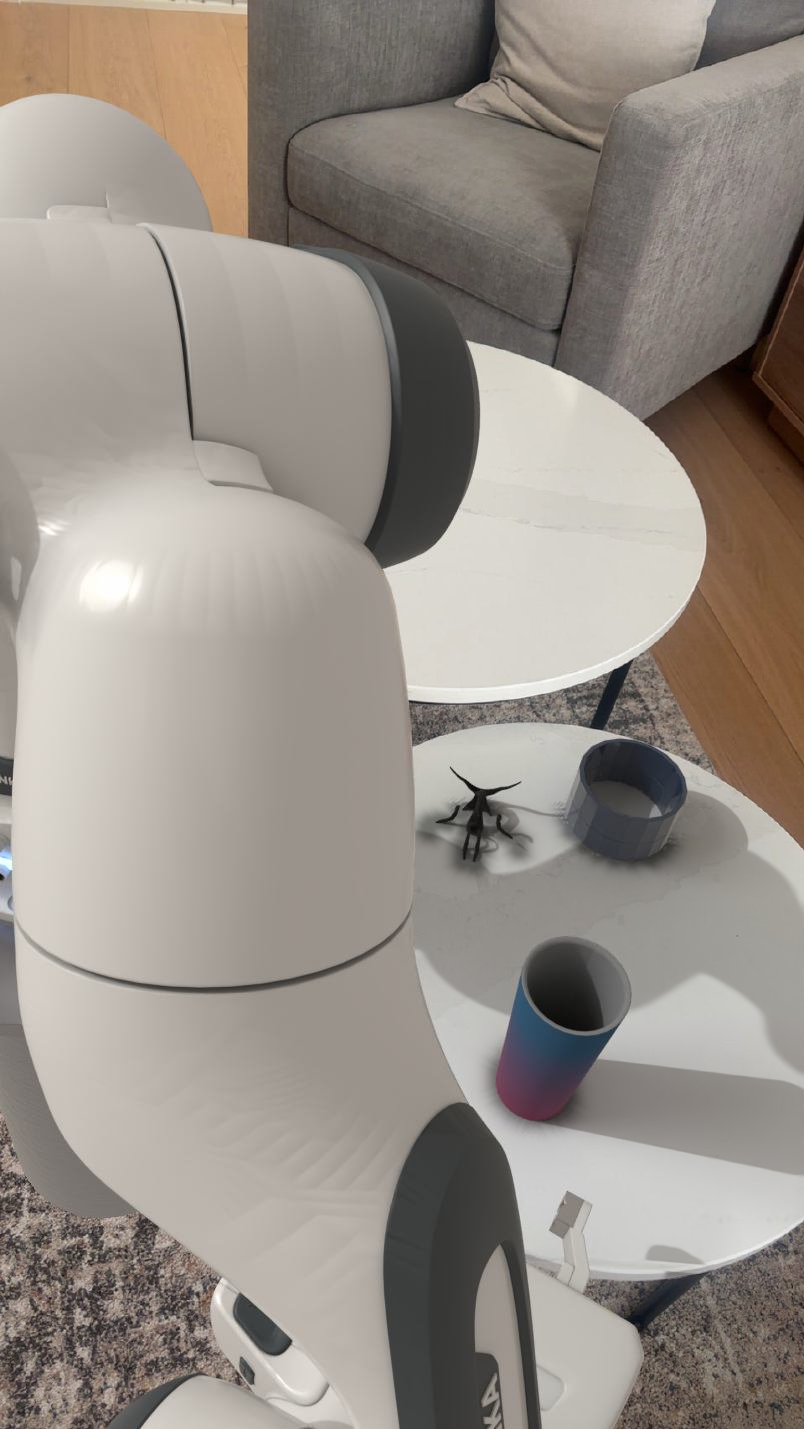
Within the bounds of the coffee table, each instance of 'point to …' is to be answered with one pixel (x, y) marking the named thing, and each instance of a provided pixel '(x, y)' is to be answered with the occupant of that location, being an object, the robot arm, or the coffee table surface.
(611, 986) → the cup
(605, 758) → the ring
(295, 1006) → the robot arm
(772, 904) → the coffee table surface
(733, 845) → the coffee table surface
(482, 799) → the creature
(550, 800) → the coffee table surface
